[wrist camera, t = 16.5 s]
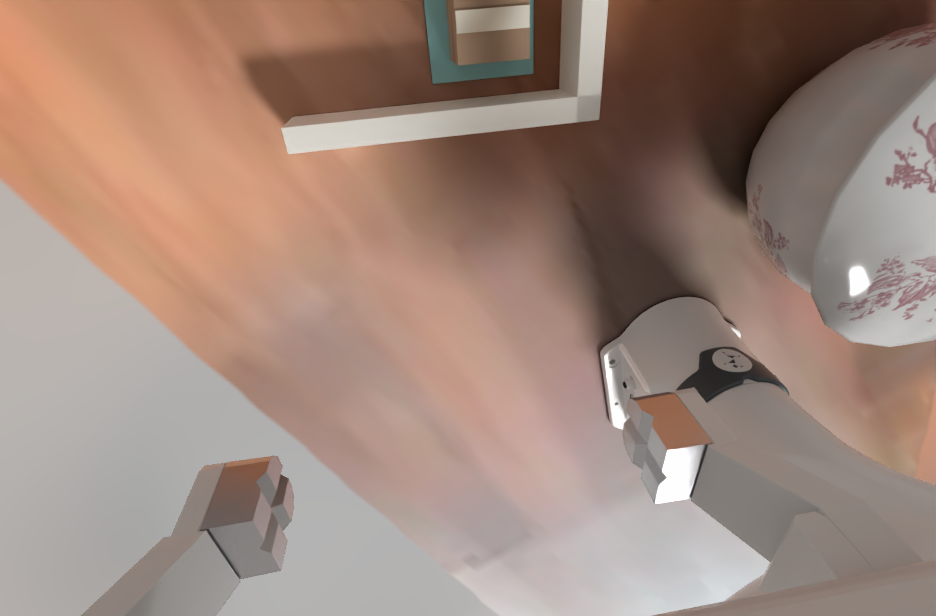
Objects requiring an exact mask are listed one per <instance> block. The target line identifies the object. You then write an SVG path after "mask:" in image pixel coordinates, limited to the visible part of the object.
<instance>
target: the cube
mask: <svg viewBox="0 0 936 616" xmlns="http://www.w3.org/2000/svg"><path fill="white" fill-rule="evenodd" d="M446 9H447V21H448V33H449V46H450V58H451V61H453V62H454V63H456V64H457V65H468V64H479V63H490V62H501V61H511V60H522V59H530V0H446Z"/></svg>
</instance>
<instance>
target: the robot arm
mask: <svg viewBox="0 0 936 616" xmlns="http://www.w3.org/2000/svg"><path fill="white" fill-rule="evenodd" d="M740 337H741V333H740V332H739V331H738V329H737V328H736V327H735V326H733V325H732V324H730V323H728V322H726V321H725V320H724V319H723V317H722V315H721V314H720V312H719V311H718V309H717V308H716V307H715V306H714V305H713V304H712V303H710V302H708V301H706V300H704V299H701V298H696V297H680V298H674V299H670V300H667V301H664V302H662V303H659V304H657V305H655V306H653V307H651V308H650V309H648V310H647V311H645V312H644V313H642V314H641V315H640V316H639V317H637V318H636V319H635V320H634V321H633V322H632V323H631V324H630V325H629V327H628V328H627V329H626V330H625V331H624V333H623V334H622V335H621V336H620V337H618V338H617V339H615V340H613V341H612V342H610V343H609V344H607V345H606V346H605V347H604V348H603V349H602V350H601V352H600V357H601V364H602V371H603V378H604V385H605V392H606V399H607V406H608V413H609V420H610V422H611V424H612V425H613V426H614V427H616V428H619V429H623V440H624V445H625V448H626V451H627V454H628V456H629V458H630V459H631V461H632V463H633V464H635V465H636V466H638V467H640V468H641V469H643V471H642V476H641V480H642V482H643V484H644V485H645V487H646V489H647V491H648V493H649V494H650V496H651V498H652V500H653V502H654V504H657V503H664V502H671V501H677V500H684V499H691V501H692V502H693V503H695V504H696V505H697V506H699V507H700V508H701V509H702V510H704V511H705V512H706V513H708V514H709V515H710V516H711V517H713V518H714V519H715V520H717V521H718V522H719V523H721V524H722V525H723V526H724V527H726V528H727V529H728V530H730V531H731V532H732V533H733V534H735V535H736V536H737V537H739V538H740V539H741V540H742V541H744V542H745V543H746V544H748V545H749V546H750V547H752V548H753V549H754V550H755V551H757V552H758V553H759V554H761V555H762V556H763V557H764V558H766V559H767V560H768V561H770V564H769V566H768V568H767V570H766V572H765V574H763V575H762V576H760V577H758V578H757V579H755V580H754V581H752V582H751V583H749V584H747V585H746V586H744V587H743V588H742V589H740V590H739V591H737V592H736V593H735V594H733V595H732V596H731V597H729V598H728V599H726V600H725V601H724V602H719V603H714V604H709V605H704V606H698V607H693V608H688V609H683V610H678V611H673V612H668V613H663V614H658V615H653V616H936V485H935V484H932V483H929V482H926V481H923V480H920V479H918V478H915V477H912V476H910V475H907V474H904V473H902V472H899V471H897V470H895V469H892V468H890V467H888V466H886V465H883V464H881V463H879V462H877V461H875V460H873V459H871V458H869V457H867V456H865V455H863V454H862V453H860V452H858V451H857V450H855V449H853V448H851V447H850V446H849V445H847V444H846V443H844V442H843V441H841V440H840V439H839V438H837V437H836V436H835V435H834V434H832V433H831V432H830V431H829V430H827V429H826V428H825V427H824V426H823V425H821V424H820V423H819V422H818V421H817V420H815V419H814V418H813V417H812V416H811V415H810V414H808V413H807V412H806V411H805V410H804V409H803V408H802V407H801V406H799V405H798V404H797V403H796V402H795V401H794V400H793V399H792V398H791V397H790V396H789V393H788V390H787V388H786V387H785V386H784V385H783V384H782V383H781V381H780V380H779V379H778V378H777V377H776V375H773V374H772V373H771V372H770V371H769V370H768V369H767V368H766V367H765V366H764V365H763V364H761V362H760V361H759V360H758V359H757V358H756V356H755V355H754V354H753V353H752V352H751V350H750V349H749V348H748V347H747V346H746V345H745V344H744V342H743V341H742V340H741V339H740ZM611 360H612V361H611ZM281 470H282V464H281V462H280V460H279V458H278V456H270V457H263V458H255V459H248V460H240V461H233V462H228V463H221V464H213V465H206V466H204V467H203V468H202V469H201V470H200V471H199V473H198V475H197V477H196V480H195V482H194V484H193V487H192V489H191V491H190V494H189V496H188V498H187V500H186V503H185V505H184V507H183V510H182V512H181V514H180V516H179V519H178V521H177V523H176V526H175V528H174V530H173V533H172V535H171V536H169V537H164V538H163V539H162V540H160V541H159V542H158V543H157V544H156V545H155V546H154V547H153V548H152V549H151V550H150V551H149V552H148V553H147V554H146V555H145V556H144V557H143V558H141V559H140V560H139V561H138V563H136V564H135V565H134V566H133V567H132V568H131V569H130V570H129V571H128V572H127V573H126V574H125V575H124V576H122V578H120V579H119V580H118V581H117V582H116V583H115V584H114V585H113V586H112V587H111V588H110V589H109V590H108V591H107V592H106V593H105V594H104V595H102V596H101V597H100V598H99V599H98V600H97V601H96V602H95V603H94V604H93V605H92V606H91V607H90V608H89V609H88V610H87V611H85V612H84V613H83V614H82V615H81V616H216V615H217V614H218V612H219V611H220V610H221V608H222V607H223V606H224V604H225V603H226V601H227V600H228V599H229V597H230V596H231V594H232V593H233V591H234V590H235V589H236V587H237V586H238V585H239V583H240V579H244V578H248V577H253V576H258V575H263V574H268V573H272V572H277V571H281V569H282V564H283V559H284V554H285V549H286V545H287V539H286V537H285V535H284V533H283V530H284V529H285V528H286V527H287V526H288V524H289V523H290V522H291V520H292V514H293V509H294V503H293V502H294V495H293V490H292V486H291V483H290V481H289V479H288V478H286V477H284V476H282V475H281Z"/></svg>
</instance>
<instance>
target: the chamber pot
mask: <svg viewBox="0 0 936 616" xmlns="http://www.w3.org/2000/svg"><path fill="white" fill-rule="evenodd" d="M746 196H747V209H748V217H749V224H750V229H751V231H752V233H753V235H754V237H755V239H756V241H757V243H758V245H759V247H760V249H761V251H762V253H763V254H764V255H765V256H766V257H767V258H768V260H769V261H770V262H771V263H772V264H773V265H774V266H775V268H776V269H777V270H778V271H779V272H780V273H781V274H782V275H784V276H785V277H786V278H788V279H789V280H791V281H792V282H794V283H795V284H796V285H798V286H799V287H801V288H802V289H804V290H805V291H807V292H808V293H810V294H811V295H812V298H813V300H814V302H815V304H816V307H817V309H818V311H819V313H820V315H821V318H822V320H823V322H824V324H825V325H826V326H828V327H829V328H831V329H832V330H834V331H835V332H837V333H838V334H840V335H841V336H843V337H844V338H845V339H847V340H848V341H850V342H855V343H862V344H869V345H875V346H882V347H892V346H899V345H905V344H912V343H918V342H924V341H931V340H935V339H936V22H932V23H928V24H923V25H918V26H914V27H909V28H904V29H900V30H897V31H894V32H892V33H890V34H888V35H885V36H883V37H881V38H879V39H876V40H874V41H872V42H870V43H867V44H865V45H863V46H861V47H858V48H856V49H854V50H853V51H851V52H850V53H848V54H847V55H845V56H843V57H842V58H840V59H839V60H837V61H836V62H834V63H833V64H831V65H830V66H828V67H827V68H825V69H823V70H822V71H821V72H820V73H818V74H817V75H816V76H814V77H813V78H812V79H810V80H809V81H808V82H807V83H805V84H804V85H803V86H801V87H800V88H799V89H797V90H796V91H795V92H794V93H793V94H792V95H791V96H790V97H789V98H788V100H787V101H786V102H785V103H784V104H783V105H782V107H781V108H780V109H779V110H778V111H777V113H776V114H775V115H774V116H773V117H772V118H771V120H770V121H769V123H768V124H767V126H766V128H765V130H764V132H763V134H762V136H761V137H760V139H759V141H758V143H757V145H756V147H755V149H754V150H753V154H752V157H751V161H750V165H749V169H748V173H747V177H746Z"/></svg>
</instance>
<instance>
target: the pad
mask: <svg viewBox="0 0 936 616" xmlns="http://www.w3.org/2000/svg"><path fill="white" fill-rule="evenodd" d="M424 8H425V17H426V27H427V36H428V46H429V55H430V64H431V74H432V83H433V84H438V83H448V82H457V81H467V80H477V79H487V78H497V77H507V76H517V75H527V74H533V43H534V0H530V59H522V60H511V61H501V62H490V63H479V64H468V65H457V64H456V63H454V62H453V61H451V58H450V46H449V33H448V21H447V9H446V0H424Z"/></svg>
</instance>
